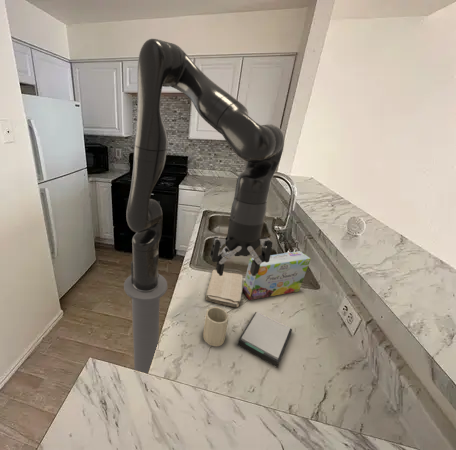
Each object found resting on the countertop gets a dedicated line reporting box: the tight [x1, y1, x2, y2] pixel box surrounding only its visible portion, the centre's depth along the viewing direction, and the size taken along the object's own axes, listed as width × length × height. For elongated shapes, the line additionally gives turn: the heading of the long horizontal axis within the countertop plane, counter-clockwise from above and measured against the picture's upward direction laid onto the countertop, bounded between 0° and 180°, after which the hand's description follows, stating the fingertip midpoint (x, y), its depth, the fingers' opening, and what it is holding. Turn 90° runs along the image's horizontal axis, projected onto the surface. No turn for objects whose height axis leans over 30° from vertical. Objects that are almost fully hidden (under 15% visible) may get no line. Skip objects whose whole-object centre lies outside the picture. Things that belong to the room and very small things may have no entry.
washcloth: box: [205, 269, 244, 308], centre depth 94 cm, size 12×18×3 cm, turn 161°
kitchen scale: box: [237, 311, 293, 368], centre depth 74 cm, size 11×14×3 cm
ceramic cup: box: [202, 306, 230, 347], centre depth 73 cm, size 6×6×9 cm
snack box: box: [242, 250, 311, 301], centre depth 91 cm, size 21×6×15 cm, turn 105°
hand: (236, 273), depth 66 cm, fingers open, 8 cm apart
